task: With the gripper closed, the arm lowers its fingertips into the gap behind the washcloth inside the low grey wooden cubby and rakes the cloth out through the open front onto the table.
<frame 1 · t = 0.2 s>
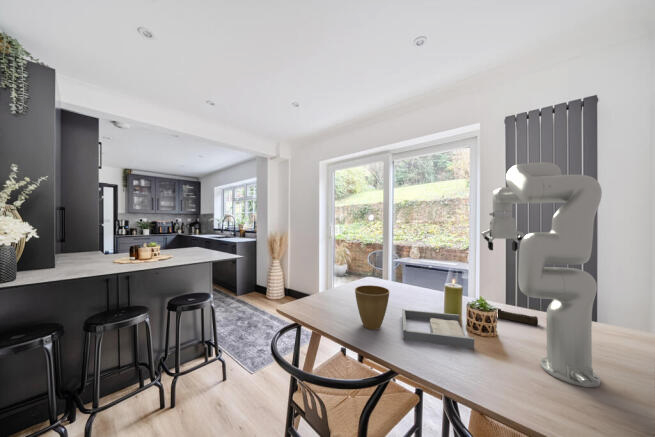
hand: (502, 250, 114), 31 cm above the table, fingers open, 9 cm apart
washcloth: (446, 333, 97), on the table
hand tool: (510, 321, 108), on the table
cubby: (433, 330, 99), on the table
plant pot: (372, 326, 104), on the table
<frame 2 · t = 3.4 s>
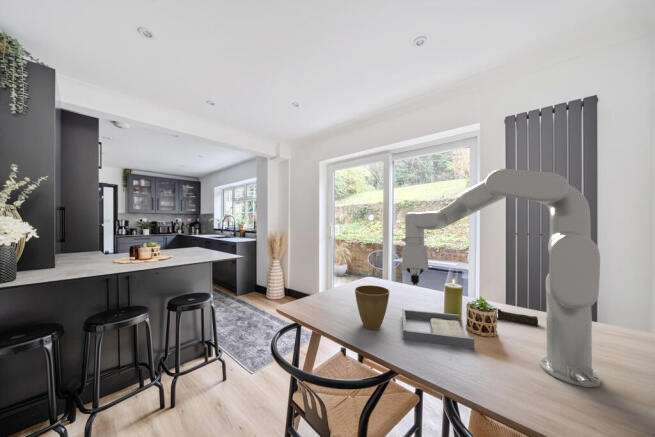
hand: (414, 284, 101), 19 cm above the table, fingers closed
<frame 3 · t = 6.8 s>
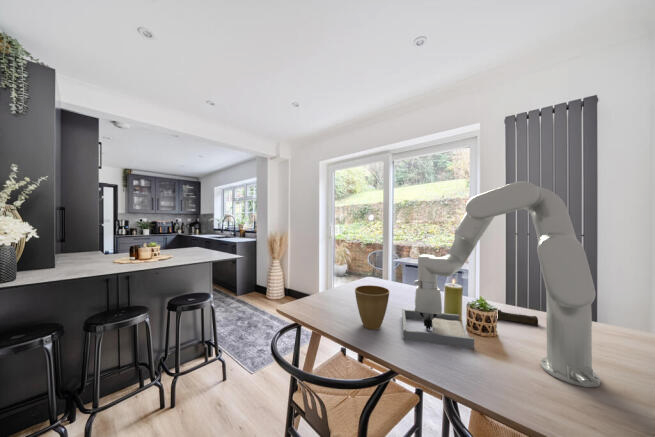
hand: (428, 327, 99), 1 cm above the table, fingers closed
washcloth: (448, 333, 97), on the table, touching gripper
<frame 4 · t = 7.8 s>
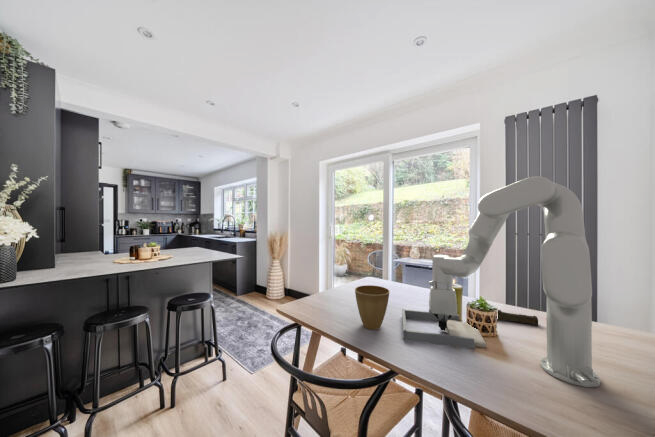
hand: (442, 329, 98), 1 cm above the table, fingers closed
washcloth: (463, 336, 95), on the table, touching gripper
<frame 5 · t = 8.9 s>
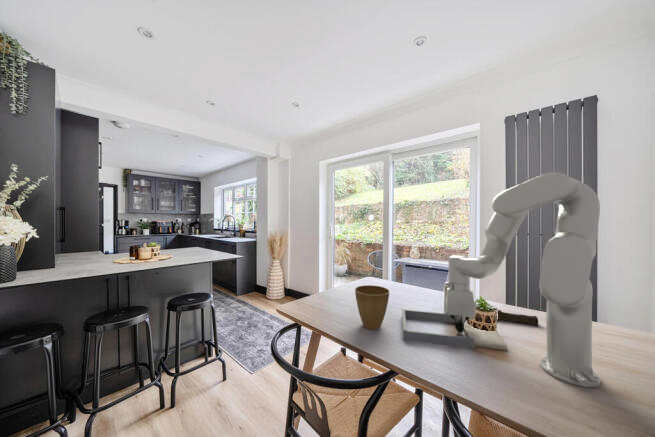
hand: (459, 331, 96), 1 cm above the table, fingers closed
washcloth: (481, 338, 93), on the table, touching gripper
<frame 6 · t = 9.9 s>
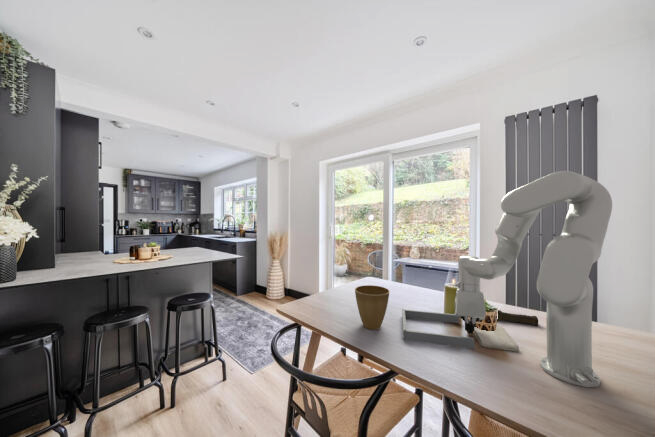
hand: (469, 332, 95), 1 cm above the table, fingers closed
washcloth: (492, 339, 92), on the table, touching gripper
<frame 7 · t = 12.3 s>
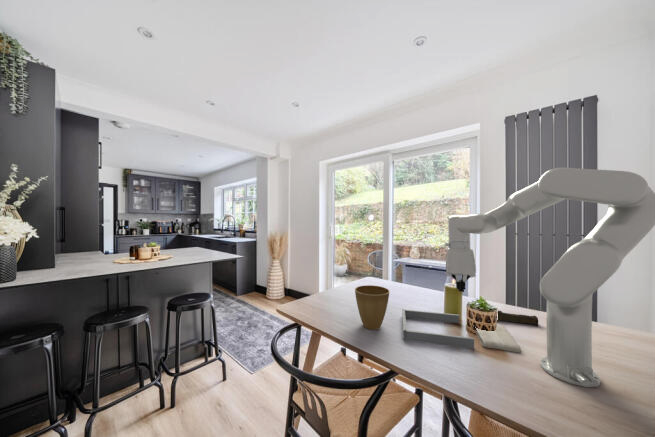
hand: (460, 290, 96), 17 cm above the table, fingers closed
washcloth: (494, 340, 92), on the table
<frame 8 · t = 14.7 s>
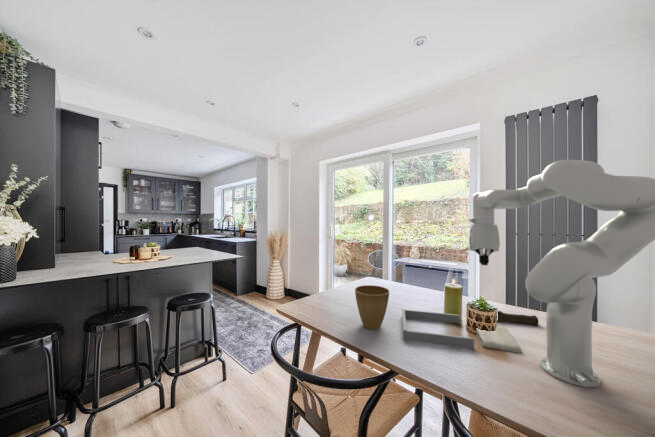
hand: (483, 264, 100), 27 cm above the table, fingers closed
at the end: washcloth inside the target area (1.9 cm from its centre), on the table; washcloth moved 17.0 cm from its start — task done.
